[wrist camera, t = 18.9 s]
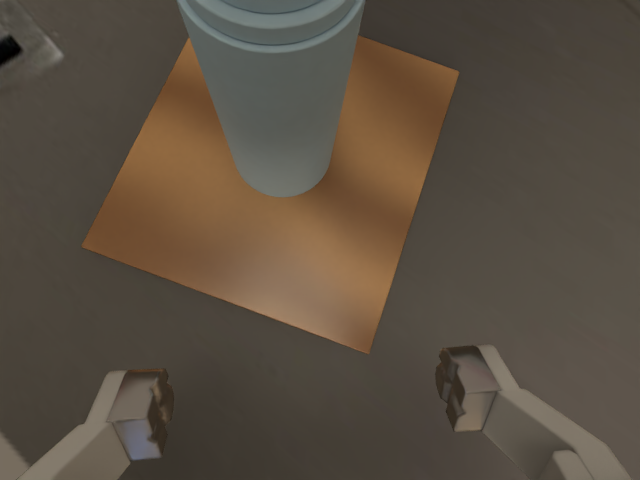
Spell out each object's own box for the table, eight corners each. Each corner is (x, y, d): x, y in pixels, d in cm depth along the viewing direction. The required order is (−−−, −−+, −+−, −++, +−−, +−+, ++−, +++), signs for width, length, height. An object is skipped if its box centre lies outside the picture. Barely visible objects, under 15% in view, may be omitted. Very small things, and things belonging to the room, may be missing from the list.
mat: (366, 353, 24) (368, 354, 23) (85, 248, 24) (80, 246, 23) (456, 76, 28) (459, 71, 28) (217, -10, 28) (216, -17, 28)
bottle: (311, 211, 25) (363, -122, 6) (217, 177, 25) (1, -251, 6) (344, 126, 26) (463, -352, 8) (255, 94, 26) (164, -455, 8)
